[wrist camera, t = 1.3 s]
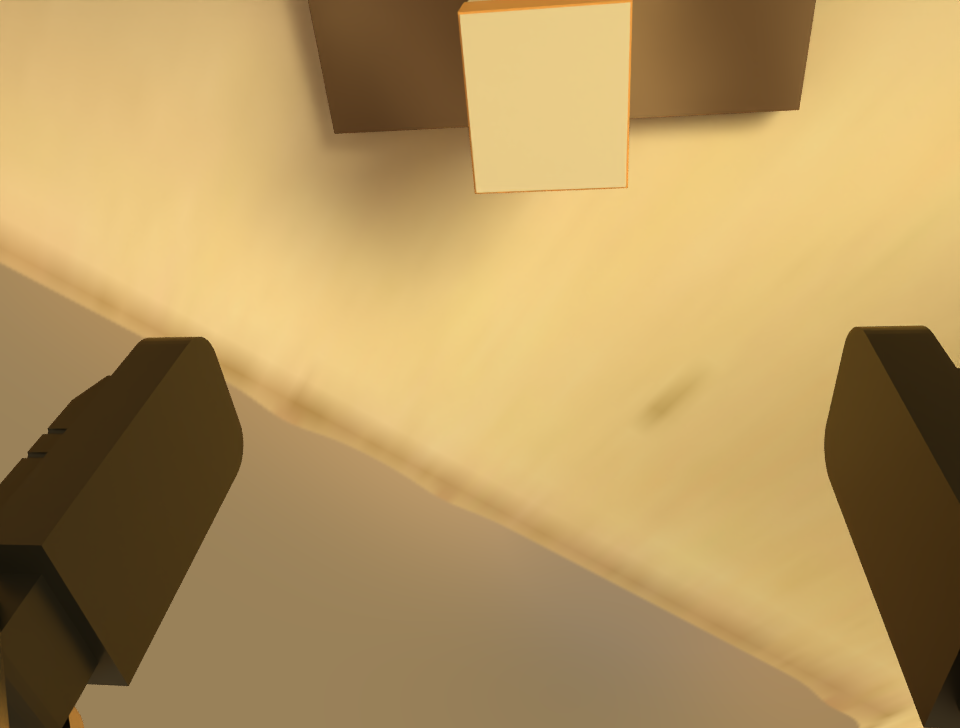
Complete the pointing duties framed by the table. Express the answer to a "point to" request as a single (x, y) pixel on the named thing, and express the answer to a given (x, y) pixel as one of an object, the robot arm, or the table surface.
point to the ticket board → (654, 59)
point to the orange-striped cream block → (547, 93)
